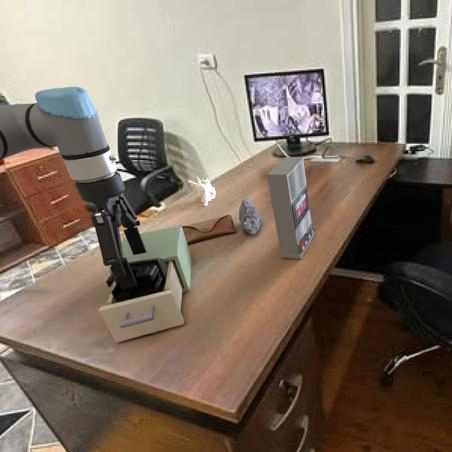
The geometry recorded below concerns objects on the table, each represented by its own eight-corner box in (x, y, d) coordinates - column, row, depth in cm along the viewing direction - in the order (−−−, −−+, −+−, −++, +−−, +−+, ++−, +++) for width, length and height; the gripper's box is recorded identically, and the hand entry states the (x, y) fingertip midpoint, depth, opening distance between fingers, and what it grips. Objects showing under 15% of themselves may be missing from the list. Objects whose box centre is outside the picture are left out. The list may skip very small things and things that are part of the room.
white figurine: (206, 206, 134) (199, 182, 129) (188, 206, 135) (181, 183, 131) (220, 193, 144) (215, 171, 139) (204, 193, 145) (198, 171, 141)
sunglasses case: (179, 247, 107) (173, 226, 107) (181, 248, 114) (175, 228, 114) (238, 231, 113) (232, 211, 113) (236, 233, 120) (231, 214, 120)
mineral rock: (254, 240, 108) (247, 211, 103) (224, 237, 111) (216, 209, 106) (272, 220, 119) (267, 193, 114) (244, 218, 122) (238, 192, 117)
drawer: (182, 336, 74) (169, 304, 69) (111, 356, 70) (93, 324, 66) (186, 283, 90) (176, 254, 86) (129, 297, 87) (115, 268, 82)
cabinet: (189, 291, 89) (177, 255, 83) (126, 307, 85) (108, 271, 80) (191, 257, 103) (181, 224, 97) (137, 269, 99) (123, 237, 94)
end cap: (171, 276, 81) (161, 252, 78) (162, 296, 75) (152, 270, 72) (126, 283, 80) (115, 259, 77) (114, 303, 74) (101, 278, 71)
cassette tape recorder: (302, 260, 97) (289, 175, 84) (281, 258, 98) (265, 174, 86) (315, 234, 108) (306, 156, 96) (296, 233, 110) (285, 156, 98)
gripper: (102, 196, 56) (145, 299, 66) (130, 155, 77) (159, 238, 87) (48, 205, 54) (101, 309, 65) (92, 160, 75) (127, 244, 85)
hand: (135, 268), depth 76 cm, fingers open, 12 cm apart
